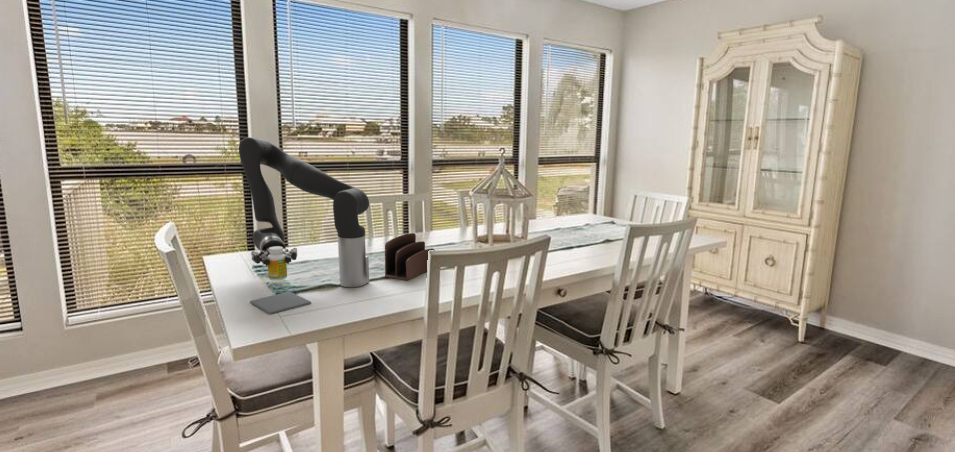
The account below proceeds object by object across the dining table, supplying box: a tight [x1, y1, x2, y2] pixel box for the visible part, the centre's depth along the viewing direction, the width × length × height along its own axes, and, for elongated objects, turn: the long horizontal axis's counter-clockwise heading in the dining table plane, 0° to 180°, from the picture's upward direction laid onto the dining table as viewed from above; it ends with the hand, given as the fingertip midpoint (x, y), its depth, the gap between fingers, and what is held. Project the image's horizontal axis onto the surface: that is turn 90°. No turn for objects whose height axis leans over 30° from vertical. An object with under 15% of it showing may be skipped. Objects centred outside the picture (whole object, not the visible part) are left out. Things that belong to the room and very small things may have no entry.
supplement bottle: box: [267, 246, 288, 281], centre depth 154 cm, size 5×5×10 cm
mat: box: [249, 291, 312, 315], centre depth 157 cm, size 13×14×1 cm
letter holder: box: [384, 232, 436, 281], centre depth 190 cm, size 10×20×14 cm, turn 154°
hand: (277, 261), depth 152 cm, fingers closed on supplement bottle, 5 cm apart
